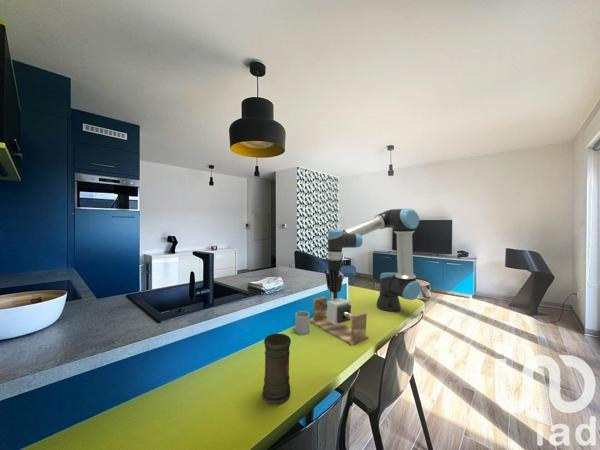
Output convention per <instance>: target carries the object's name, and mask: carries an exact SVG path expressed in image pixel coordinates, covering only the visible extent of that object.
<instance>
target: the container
mask: <svg viewBox="0 0 600 450" xmlns="http://www.w3.org/2000/svg"><path fill="white" fill-rule="evenodd" d="M291 342H292V339H291V338H290V336H289V335H287V334H285V333H272V334H269V335H267V336H266V337H265V338H264V340H263V344H264V349H265V351H264V355H265V356H264V357H265V358H264V360H265V361H264V377H263V381H264V383H263V387H262V398H263V400H264V401H265V403H267V404H269V405H271V406H277V405H282V404H284V403H285V402H287V401H288V400H289V399H290V396H291V385H290V353H291V352H290V346H291Z"/></svg>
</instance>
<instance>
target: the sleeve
mask: <svg viewBox="0 0 600 450" xmlns="http://www.w3.org/2000/svg"><path fill="white" fill-rule="evenodd" d="M346 304H349V305H351V304H350V300H347V299H345V298H342V297H340V298H336V299H335V300H331V299H330V300H328V301H327V308H326V316H327V321H328V322H330V323H332V324H334V325H337V324H340V323H338V322H337V307H339V306H342V305H346Z"/></svg>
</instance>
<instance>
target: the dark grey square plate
mask: <svg viewBox="0 0 600 450" xmlns="http://www.w3.org/2000/svg"><path fill="white" fill-rule="evenodd" d="M343 311H346V312H348V313H352V305H351V304H350V305H349V304H346V305H342V306H339V307H337V322H338V323H342V324H344V323H345V322H349V321H352V320H351V319H348V318H347V317H345V316H343Z"/></svg>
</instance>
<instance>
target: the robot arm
mask: <svg viewBox="0 0 600 450" xmlns="http://www.w3.org/2000/svg"><path fill="white" fill-rule="evenodd" d="M419 224H420V218H419V214H418V213H417V212H416V210H415V209H413V208H395V209H394V208H393V209H391V208H390V209H388V210H386V211H383V212H380V213H378V214H376V215H374V216H373V217H372V218H370V219H367V220H365V221H362V222H360V223H358V224H355V225H353V226H350V227H347V228H345V229H343V230H341V229H330V230H329V231H328V233H327V263H326V264H327V265H326V266H327V267H328V268H327V269H326V270H324V274H325V280H326V288H327V290H329V292H330V293H329V295H330V296H329V297H330V301H331V300H335V299H338V293H339V292H341V289H342V286H343V280H344V278H345V274H344V273H342V270H341V269H342V266H343V264H342V263H343V261H342V260H343V249H345V248H350V249H351V248H355V249H356V248H361V246H362V245H363V236H365V235H368V234H369V233H372V232H374V231H377V230H384V229H387V228H393V233H394V234H396V255H397V257H396V258H397V259H396V260H397V262H396V263H397V264H396V265H397V272H389V271H388V272H382V273H381V274H380V276H379V295H378V299H377V301H376V308H378V309H380V310H381V311H386V312H393V313H395V312H400V311H402V304H401V303H400V302H401V301H400V298H402V299H404V300H408V301H413V300H416V299H417V298H418V297H419V295H420V293H421V291H422V286H421V283H420V282H419V281H417V276H416V275H415V273H414V259H413V257H414V256H413V253H414V252H413V234H414V233H415V232H416V229H417V227H418V226H419ZM399 297H400V298H399Z"/></svg>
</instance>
